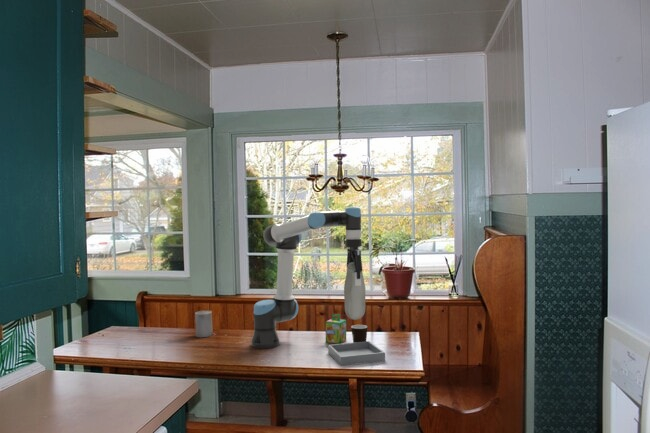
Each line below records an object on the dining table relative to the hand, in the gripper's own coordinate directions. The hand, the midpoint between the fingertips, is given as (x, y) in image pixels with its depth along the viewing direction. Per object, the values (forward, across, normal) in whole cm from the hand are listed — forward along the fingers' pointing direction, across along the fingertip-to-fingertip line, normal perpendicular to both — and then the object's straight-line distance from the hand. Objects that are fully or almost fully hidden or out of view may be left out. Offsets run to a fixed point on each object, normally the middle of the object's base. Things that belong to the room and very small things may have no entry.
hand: (354, 283), depth 258 cm
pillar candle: (+36, +70, +70) cm, 105 cm away
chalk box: (+36, +31, +1) cm, 48 cm away
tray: (+36, 0, 0) cm, 36 cm away
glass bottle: (+17, 0, 0) cm, 17 cm away
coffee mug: (+36, +20, -9) cm, 42 cm away
